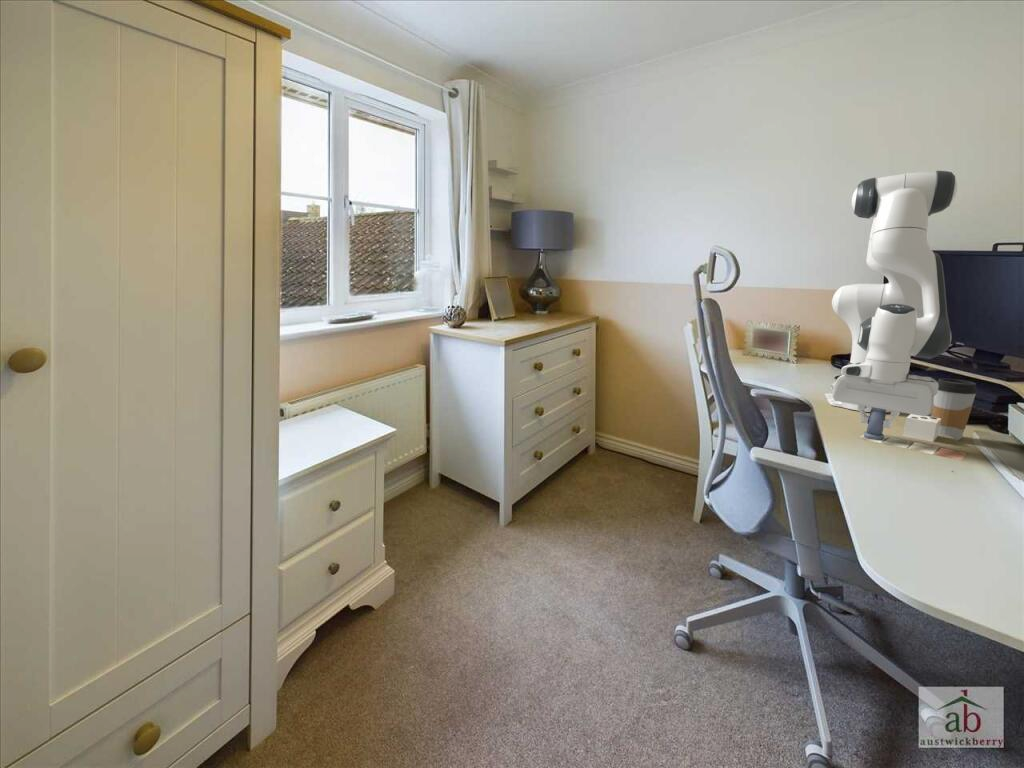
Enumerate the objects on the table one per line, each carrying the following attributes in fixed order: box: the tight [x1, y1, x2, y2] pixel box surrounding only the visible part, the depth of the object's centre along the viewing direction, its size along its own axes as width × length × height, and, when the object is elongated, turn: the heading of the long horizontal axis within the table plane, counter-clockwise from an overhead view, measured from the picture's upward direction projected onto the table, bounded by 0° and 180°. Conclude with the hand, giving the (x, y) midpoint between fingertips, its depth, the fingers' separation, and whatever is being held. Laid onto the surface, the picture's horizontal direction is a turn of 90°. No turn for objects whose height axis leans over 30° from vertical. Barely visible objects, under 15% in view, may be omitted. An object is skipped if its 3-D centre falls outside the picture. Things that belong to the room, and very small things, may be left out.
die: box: [902, 414, 941, 442], centre depth 125 cm, size 6×6×6 cm
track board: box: [858, 434, 967, 461], centre depth 118 cm, size 22×8×1 cm, turn 41°
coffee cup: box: [930, 378, 978, 441], centre depth 127 cm, size 8×8×15 cm
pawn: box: [863, 407, 887, 440], centre depth 123 cm, size 4×4×9 cm
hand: (875, 425), depth 123 cm, fingers closed on pawn, 3 cm apart
